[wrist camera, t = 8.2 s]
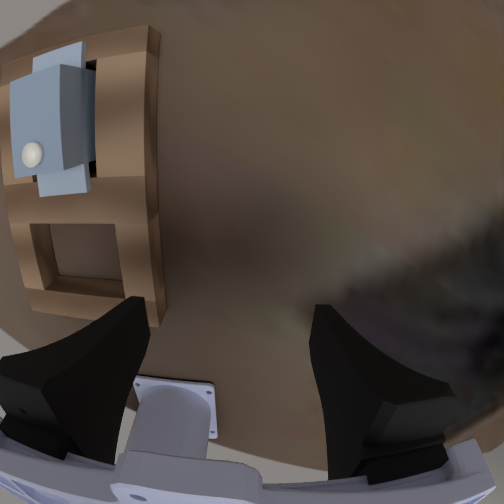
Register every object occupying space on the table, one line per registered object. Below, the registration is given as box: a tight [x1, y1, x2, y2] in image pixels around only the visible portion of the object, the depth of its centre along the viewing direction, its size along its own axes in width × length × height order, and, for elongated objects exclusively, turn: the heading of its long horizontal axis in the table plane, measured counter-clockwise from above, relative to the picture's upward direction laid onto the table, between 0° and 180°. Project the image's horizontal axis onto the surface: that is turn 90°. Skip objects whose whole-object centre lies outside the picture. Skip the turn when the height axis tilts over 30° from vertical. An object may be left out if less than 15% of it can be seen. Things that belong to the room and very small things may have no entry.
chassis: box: [0, 25, 167, 327], centre depth 19 cm, size 20×12×2 cm, turn 178°
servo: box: [10, 41, 96, 197], centre depth 15 cm, size 4×10×6 cm, turn 0°
